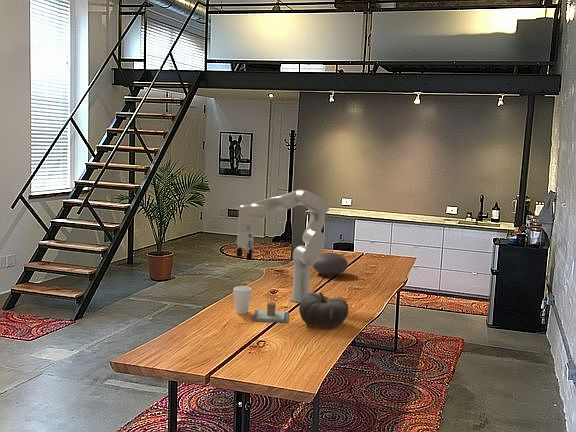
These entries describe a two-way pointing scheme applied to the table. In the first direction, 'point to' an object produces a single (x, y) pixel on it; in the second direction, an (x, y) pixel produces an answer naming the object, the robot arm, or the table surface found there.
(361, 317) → the table surface
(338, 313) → the gourd
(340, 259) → the smooth stone
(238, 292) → the foam cup
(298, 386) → the table surface
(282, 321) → the mat
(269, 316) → the lid
